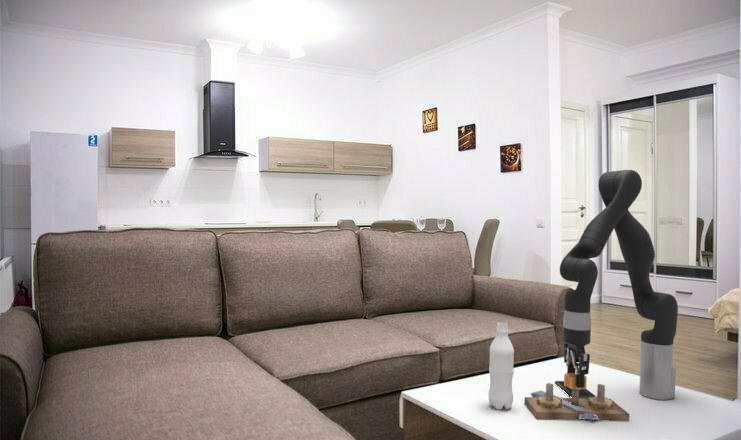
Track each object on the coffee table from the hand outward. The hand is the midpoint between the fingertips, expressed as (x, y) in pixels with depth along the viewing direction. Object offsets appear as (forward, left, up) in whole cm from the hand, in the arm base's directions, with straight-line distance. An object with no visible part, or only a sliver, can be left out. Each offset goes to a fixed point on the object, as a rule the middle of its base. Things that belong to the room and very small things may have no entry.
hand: (575, 383), depth 154 cm
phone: (-7, -19, -9) cm, 22 cm away
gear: (0, 0, -1) cm, 1 cm away
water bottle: (+21, -3, -9) cm, 23 cm away
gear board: (0, 0, -8) cm, 8 cm away
